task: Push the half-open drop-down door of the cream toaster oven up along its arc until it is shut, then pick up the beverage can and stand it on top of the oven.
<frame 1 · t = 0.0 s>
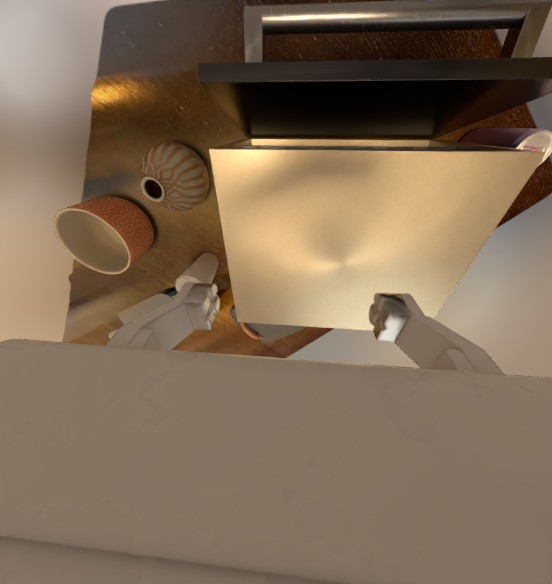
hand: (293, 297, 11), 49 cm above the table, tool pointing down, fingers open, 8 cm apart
oven: (326, 213, 56), on the table
oven door: (357, 89, 32), point 12 cm above the table, hinge at 13.0°
serving tray: (282, 306, 78), on the table
cup: (210, 260, 68), on the table
planter: (132, 221, 62), on the table
beverage can: (469, 145, 45), on the table
vase: (190, 172, 52), on the table
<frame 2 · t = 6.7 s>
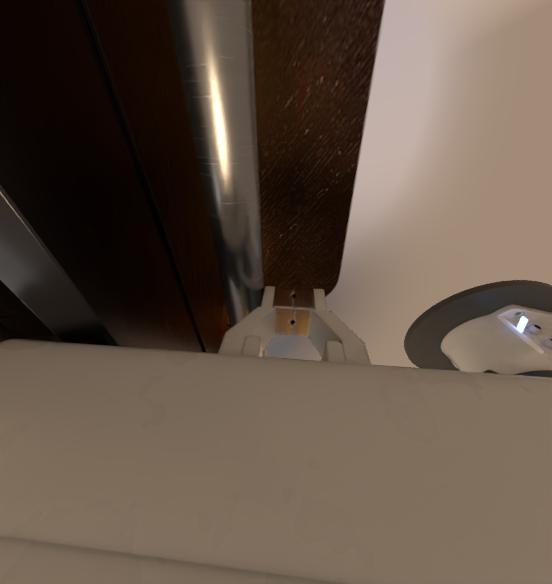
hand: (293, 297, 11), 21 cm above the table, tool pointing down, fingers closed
oven: (83, 190, 29), on the table
oven door: (213, 229, 18), point 12 cm above the table, hinge at 12.7°, touching gripper
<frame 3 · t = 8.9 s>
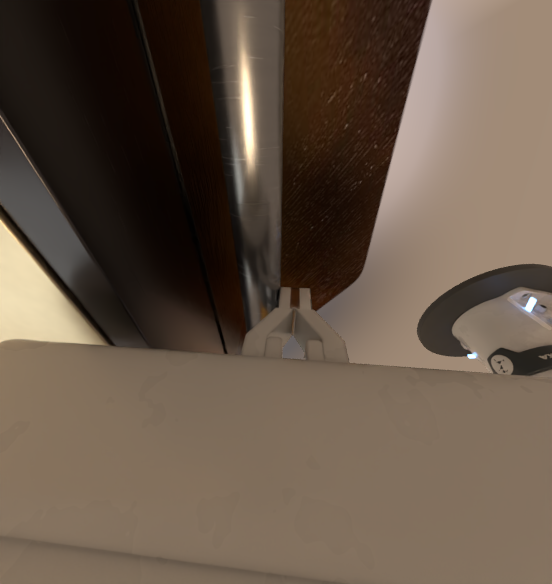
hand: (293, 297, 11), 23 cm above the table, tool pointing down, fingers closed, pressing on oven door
oven: (116, 187, 29), on the table
oven door: (243, 225, 19), point 13 cm above the table, hinge at -0.5°, touching gripper
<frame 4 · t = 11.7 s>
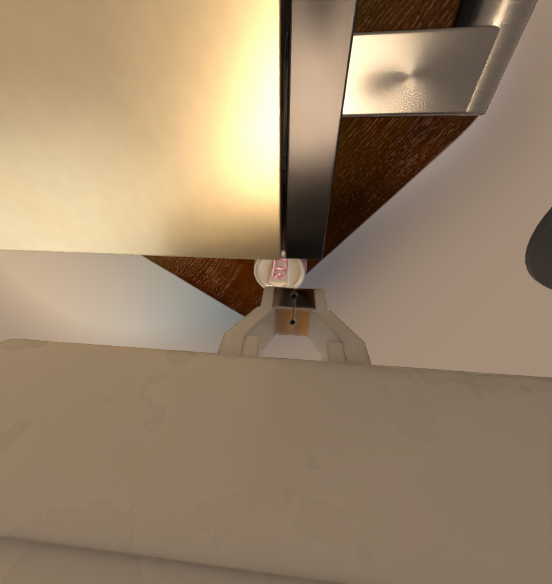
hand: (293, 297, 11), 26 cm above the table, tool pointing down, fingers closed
beverage can: (287, 222, 34), on the table
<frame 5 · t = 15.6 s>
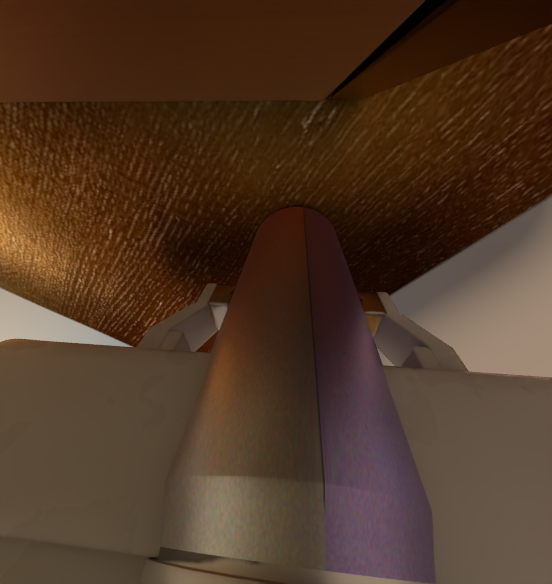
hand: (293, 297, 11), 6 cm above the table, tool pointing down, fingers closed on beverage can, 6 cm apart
beverage can: (295, 243, 16), on the table, touching gripper
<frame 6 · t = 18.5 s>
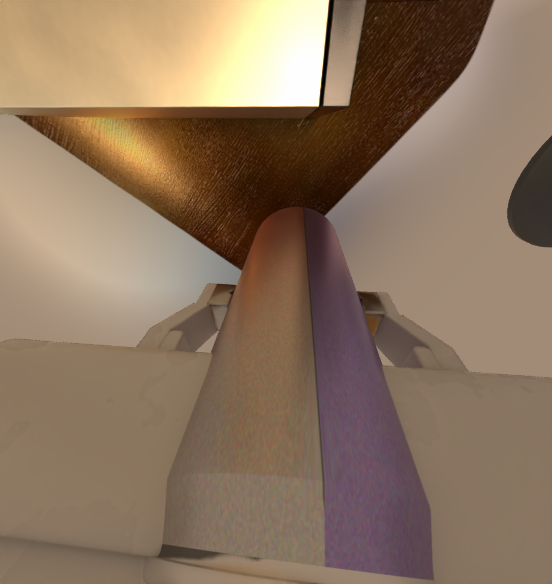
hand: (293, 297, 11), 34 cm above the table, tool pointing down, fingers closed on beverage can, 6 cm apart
beverage can: (295, 243, 16), point 28 cm above the table, touching gripper
when the fingers open (32 cm above the table, at t = 21.6 s): beverage can stays where it is, resting on oven.
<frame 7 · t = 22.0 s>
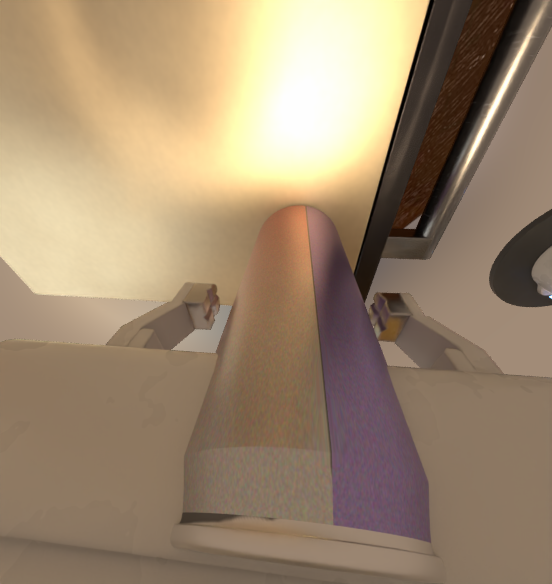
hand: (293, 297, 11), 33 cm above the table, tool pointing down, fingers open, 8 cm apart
oven: (222, 69, 29), on the table
oven door: (411, 33, 17), point 13 cm above the table, hinge at -0.1°
beverage can: (297, 241, 16), point 26 cm above the table, touching oven
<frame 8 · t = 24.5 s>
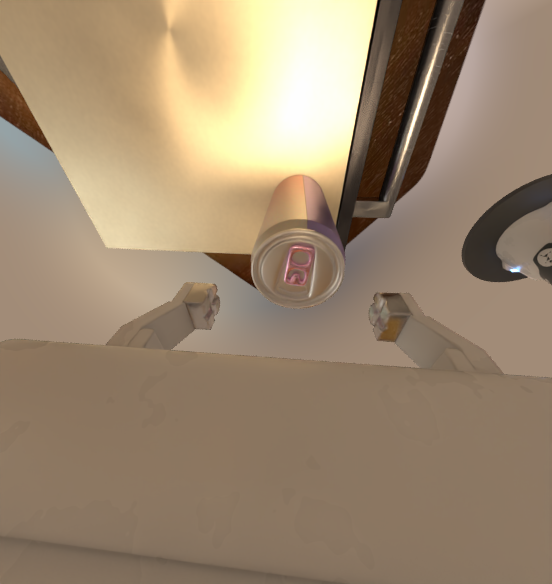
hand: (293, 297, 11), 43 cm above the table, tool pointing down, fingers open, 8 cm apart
oven: (239, 81, 37), on the table
oven door: (375, 63, 26), point 13 cm above the table, hinge at -0.1°
beverage can: (297, 202, 24), point 26 cm above the table, touching oven
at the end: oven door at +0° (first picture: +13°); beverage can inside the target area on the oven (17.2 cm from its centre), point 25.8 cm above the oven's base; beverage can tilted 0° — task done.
